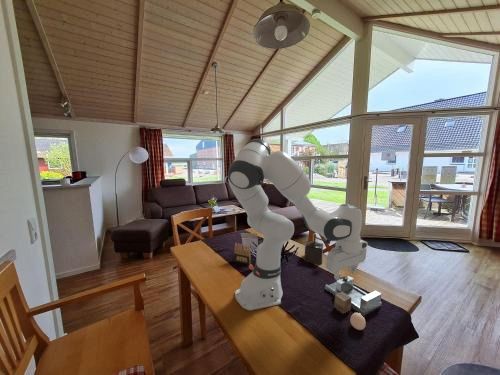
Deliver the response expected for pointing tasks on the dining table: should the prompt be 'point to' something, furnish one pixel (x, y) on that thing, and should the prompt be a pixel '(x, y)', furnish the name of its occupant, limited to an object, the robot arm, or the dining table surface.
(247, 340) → the dining table surface
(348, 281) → the free jaw
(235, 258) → the ammunition clip
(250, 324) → the dining table surface
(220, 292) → the dining table surface
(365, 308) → the vise
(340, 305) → the block
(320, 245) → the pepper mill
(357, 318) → the egg
